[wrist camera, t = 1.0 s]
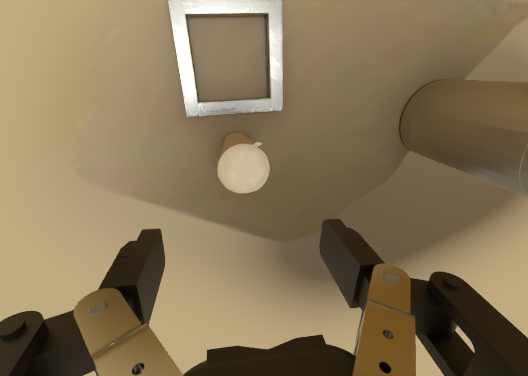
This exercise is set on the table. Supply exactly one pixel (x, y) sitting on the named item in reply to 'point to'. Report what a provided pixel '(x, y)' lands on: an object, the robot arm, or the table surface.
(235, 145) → the milkshake
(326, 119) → the table surface
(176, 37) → the grey square frame
